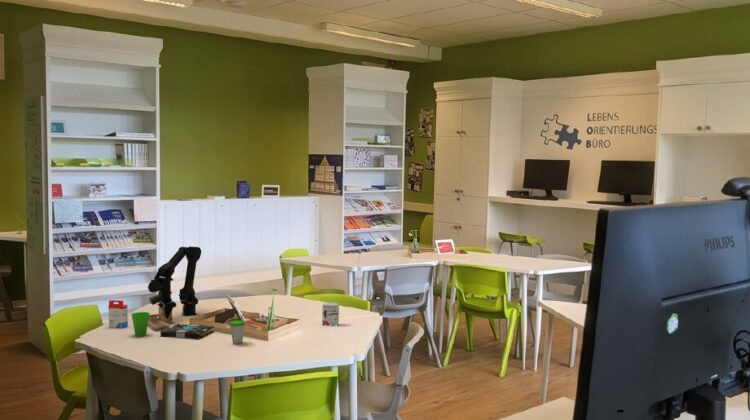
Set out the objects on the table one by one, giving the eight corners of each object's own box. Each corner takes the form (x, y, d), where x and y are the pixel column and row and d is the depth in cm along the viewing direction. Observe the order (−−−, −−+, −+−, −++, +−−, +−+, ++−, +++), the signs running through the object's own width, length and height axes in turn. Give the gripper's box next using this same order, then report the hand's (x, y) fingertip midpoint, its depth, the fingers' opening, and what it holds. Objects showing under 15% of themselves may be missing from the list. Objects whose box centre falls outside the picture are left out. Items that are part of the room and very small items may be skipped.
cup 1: (154, 334, 336) (153, 312, 336) (140, 338, 328) (140, 316, 327) (140, 332, 340) (140, 311, 339) (127, 336, 332) (126, 314, 331)
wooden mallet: (169, 319, 369) (169, 305, 368) (172, 321, 365) (172, 307, 364) (144, 322, 361) (144, 308, 361) (147, 324, 357) (147, 309, 357)
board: (156, 320, 367) (156, 316, 367) (170, 329, 347) (170, 325, 347) (141, 322, 363) (141, 318, 363) (155, 331, 342) (155, 327, 342)
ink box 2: (322, 325, 360) (322, 304, 359) (323, 323, 365) (323, 302, 364) (337, 326, 359) (337, 304, 358) (338, 324, 364) (339, 302, 363)
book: (159, 337, 332) (159, 327, 331) (177, 329, 348) (177, 320, 348) (199, 340, 327) (199, 330, 327) (215, 332, 343) (215, 323, 343)
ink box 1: (128, 326, 353) (127, 299, 352) (123, 328, 348) (123, 300, 347) (112, 325, 354) (112, 298, 353) (108, 327, 349) (108, 300, 348)
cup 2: (227, 341, 323) (227, 311, 322) (243, 340, 326) (243, 310, 326) (231, 345, 316) (231, 314, 315) (247, 344, 319) (247, 313, 318)
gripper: (145, 288, 367) (145, 316, 368) (155, 293, 352) (155, 322, 353) (165, 286, 373) (165, 314, 374) (176, 291, 358) (176, 320, 359)
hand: (165, 317), depth 365 cm, fingers closed on wooden mallet, 5 cm apart
